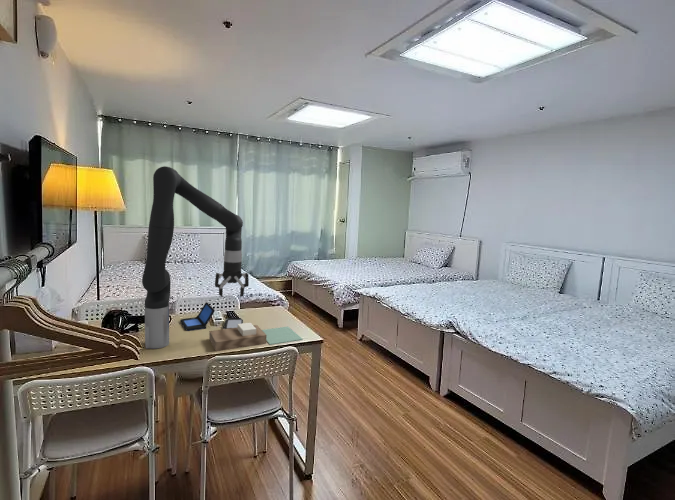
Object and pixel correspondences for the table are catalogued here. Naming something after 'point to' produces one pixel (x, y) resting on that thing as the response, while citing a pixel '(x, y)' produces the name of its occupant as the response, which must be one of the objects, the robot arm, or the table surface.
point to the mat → (281, 335)
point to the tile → (246, 329)
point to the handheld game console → (198, 319)
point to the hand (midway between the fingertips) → (231, 296)
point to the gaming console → (232, 323)
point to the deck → (235, 338)
